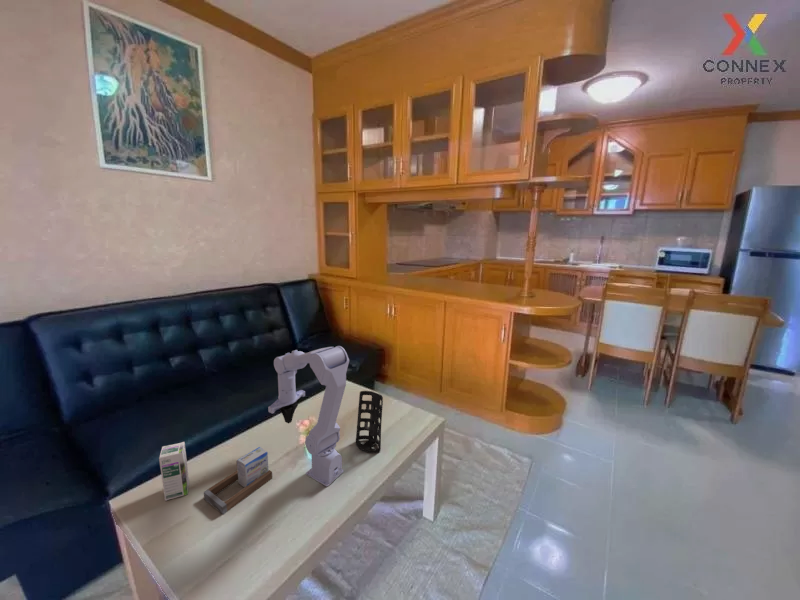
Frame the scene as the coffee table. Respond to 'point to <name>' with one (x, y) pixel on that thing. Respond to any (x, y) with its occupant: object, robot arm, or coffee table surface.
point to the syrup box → (174, 470)
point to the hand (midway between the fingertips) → (288, 421)
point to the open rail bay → (238, 497)
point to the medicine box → (252, 466)
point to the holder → (373, 420)
